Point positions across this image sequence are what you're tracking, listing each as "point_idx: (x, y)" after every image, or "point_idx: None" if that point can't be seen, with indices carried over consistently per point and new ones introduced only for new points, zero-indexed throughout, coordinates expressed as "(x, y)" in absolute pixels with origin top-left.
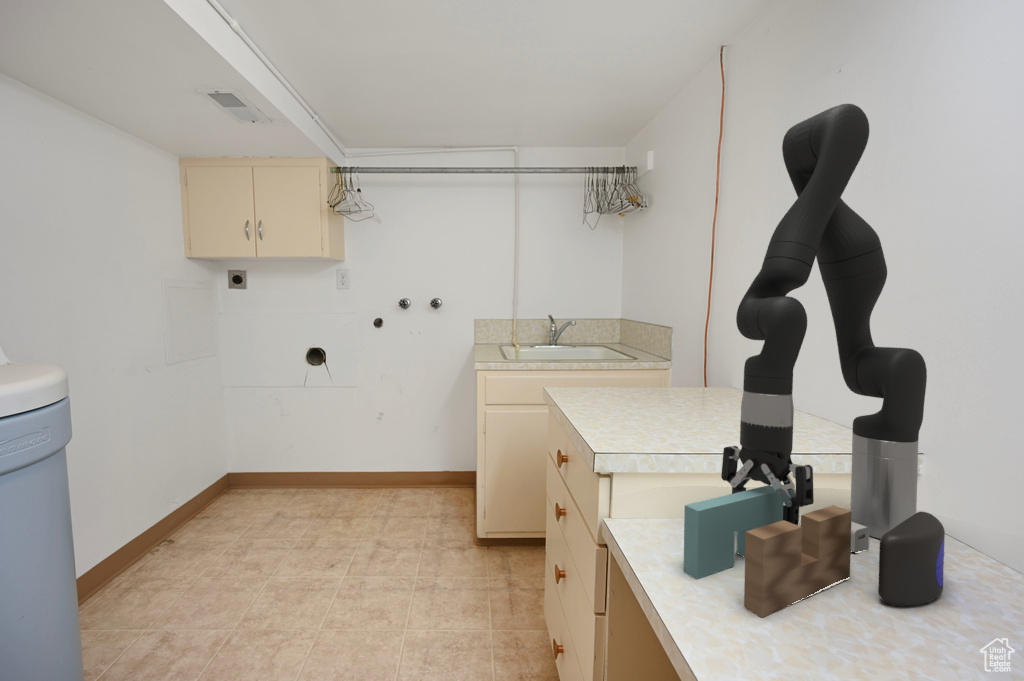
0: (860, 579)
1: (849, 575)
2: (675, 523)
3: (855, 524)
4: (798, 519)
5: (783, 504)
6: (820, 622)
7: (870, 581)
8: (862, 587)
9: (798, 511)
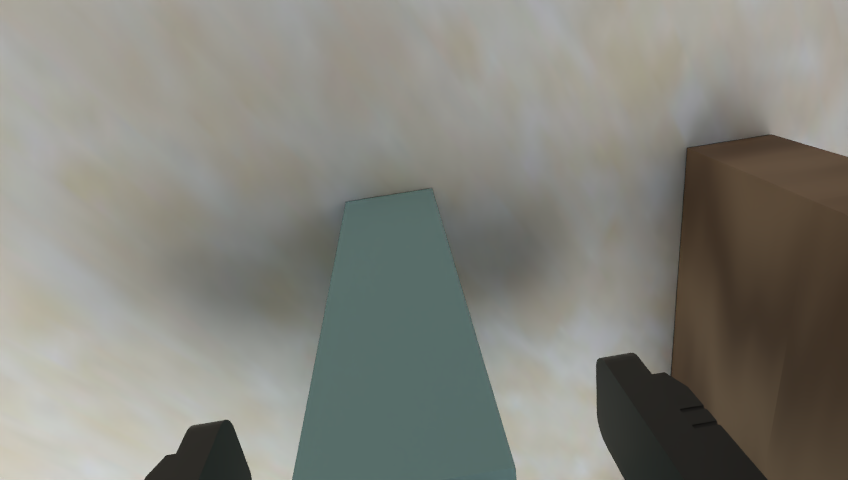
0: (801, 80)
1: (784, 140)
2: (23, 472)
3: None
4: (707, 413)
5: (476, 338)
6: None
7: (839, 48)
8: (831, 147)
9: (750, 467)
